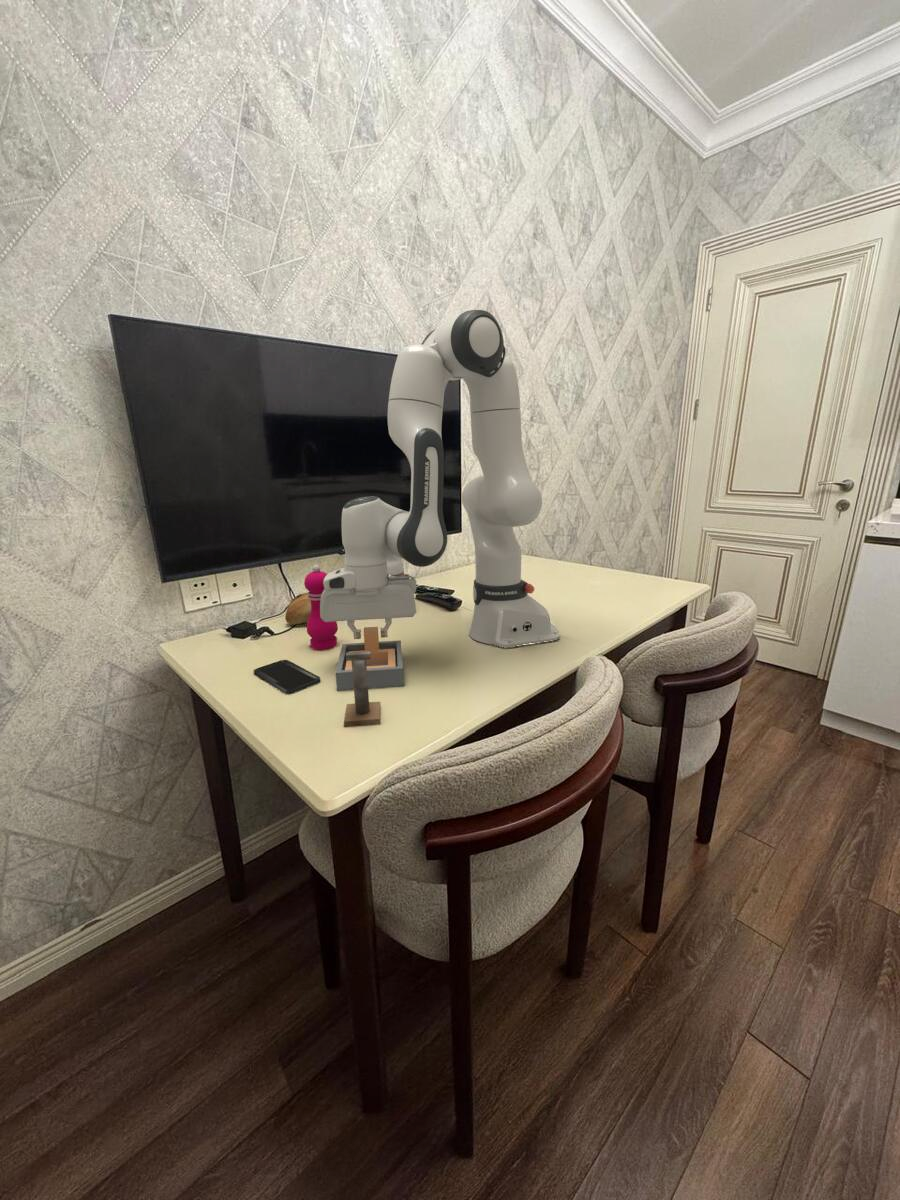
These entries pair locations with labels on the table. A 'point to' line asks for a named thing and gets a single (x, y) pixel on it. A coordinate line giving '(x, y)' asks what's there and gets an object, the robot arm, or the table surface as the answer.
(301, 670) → the phone
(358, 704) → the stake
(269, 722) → the table surface
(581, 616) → the table surface
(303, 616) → the bread roll
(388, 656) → the ring
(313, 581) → the pepper mill
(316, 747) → the table surface
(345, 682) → the tray
